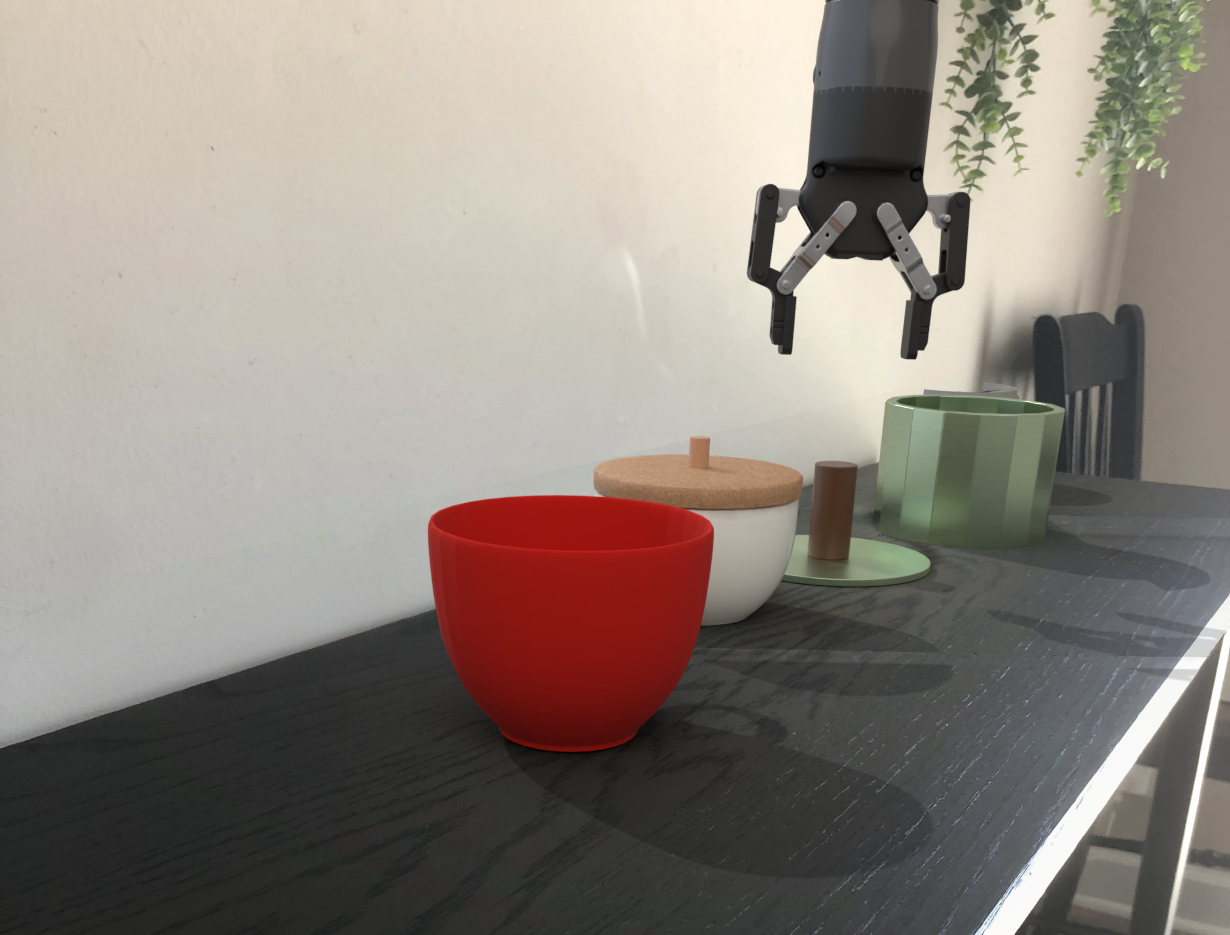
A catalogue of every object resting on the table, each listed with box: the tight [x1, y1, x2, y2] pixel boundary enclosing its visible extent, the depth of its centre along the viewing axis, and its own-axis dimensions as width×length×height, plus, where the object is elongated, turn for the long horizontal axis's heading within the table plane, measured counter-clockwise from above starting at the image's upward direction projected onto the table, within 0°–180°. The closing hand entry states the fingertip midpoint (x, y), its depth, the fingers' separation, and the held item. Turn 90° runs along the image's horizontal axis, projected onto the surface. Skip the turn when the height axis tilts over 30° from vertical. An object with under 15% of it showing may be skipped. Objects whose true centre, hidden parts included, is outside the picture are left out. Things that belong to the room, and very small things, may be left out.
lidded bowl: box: [593, 435, 804, 626], centre depth 81 cm, size 13×13×11 cm
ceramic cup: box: [427, 494, 714, 753], centre depth 64 cm, size 13×17×10 cm
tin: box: [872, 394, 1066, 550], centre depth 107 cm, size 14×14×10 cm
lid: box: [781, 460, 932, 588], centre depth 95 cm, size 15×15×8 cm
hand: (846, 356), depth 91 cm, fingers open, 8 cm apart
